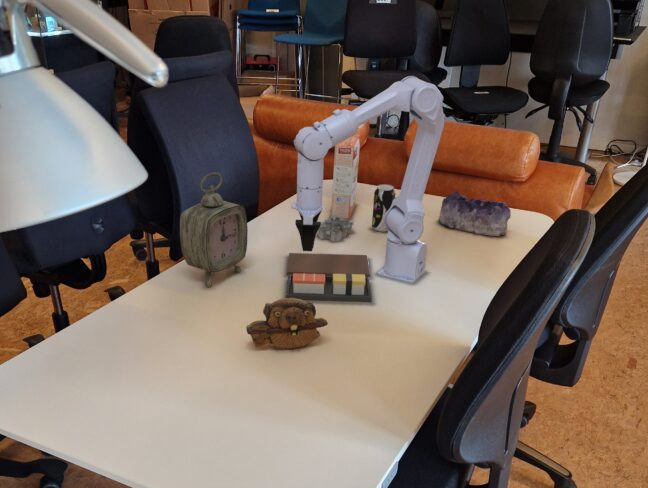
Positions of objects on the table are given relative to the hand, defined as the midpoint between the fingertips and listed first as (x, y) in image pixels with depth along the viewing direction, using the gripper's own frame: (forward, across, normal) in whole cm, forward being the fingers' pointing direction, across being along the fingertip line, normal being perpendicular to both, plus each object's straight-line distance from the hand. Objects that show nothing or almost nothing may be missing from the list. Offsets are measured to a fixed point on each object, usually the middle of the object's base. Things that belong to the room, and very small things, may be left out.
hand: (308, 244), depth 166 cm
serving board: (+10, -10, +5) cm, 15 cm away
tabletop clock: (+10, -2, -22) cm, 25 cm away
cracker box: (+10, -52, +9) cm, 54 cm away
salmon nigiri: (+9, +4, 0) cm, 10 cm away
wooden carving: (+10, +31, -3) cm, 32 cm away
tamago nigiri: (+9, +4, +10) cm, 14 cm away
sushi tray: (+10, +4, +5) cm, 12 cm away
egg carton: (+10, -33, +6) cm, 35 cm away
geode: (+10, -41, +45) cm, 62 cm away
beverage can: (+10, -38, +19) cm, 44 cm away
